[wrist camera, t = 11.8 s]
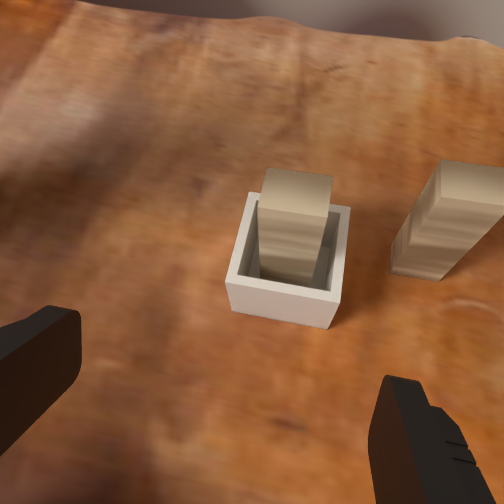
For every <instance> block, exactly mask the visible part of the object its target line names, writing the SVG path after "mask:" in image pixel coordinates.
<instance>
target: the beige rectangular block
mask: <svg viewBox="0 0 504 504" xmlns="http://www.w3.org/2000/svg"><path fill="white" fill-rule="evenodd" d="M503 215H504V168H502V167H495V166H487V165H479V164H472V163H464V162H456V161H449V160H440V161H439V163H438V165H437V166H436V168H435V170H434V172H433V173H432V175H431V177H430V178H429V180H428V182H427V184H426V185H425V187H424V189H423V190H422V192H421V194H420V196H419V197H418V199H417V201H416V202H415V204H414V206H413V208H412V209H411V211H410V213H409V214H408V216H407V218H406V219H405V221H404V223H403V225H402V226H401V228H400V230H399V231H398V233H397V235H396V237H395V238H394V240H393V242H392V243H391V259H390V274H395V275H401V276H407V277H412V278H418V279H424V280H430V281H436V282H439V281H440V280H441V279H442V278H443V276H444V275H445V274H446V273H447V272H448V271H449V270H450V269H451V268H452V267H453V266H454V265H455V264H456V263H457V262H458V261H459V260H460V259H461V258H462V257H463V256H464V255H465V254H466V253H467V252H468V251H469V250H470V249H471V248H472V247H473V246H474V245H475V244H476V243H477V242H478V241H479V240H480V239H481V238H482V237H483V236H484V235H485V234H486V233H487V232H488V231H489V230H490V229H491V228H492V227H493V226H494V225H495V224H496V223H497V222H498V221H499V220H500V218H501V217H502V216H503Z"/></svg>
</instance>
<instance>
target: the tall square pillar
mask: <svg viewBox="0 0 504 504" xmlns="http://www.w3.org/2000/svg"><path fill="white" fill-rule="evenodd" d="M332 181H333V176H329V175H321V174H314V173H307V172H299V171H292V170H285V169H277V168H270V167H267V169H266V174H265V178H264V182H263V186H262V190H261V194H260V198H259V202H258V206H257V211H258V236H259V262H260V279H263V280H269V281H274V282H280V283H285V284H291V285H296V286H302V287H307V288H310V285H311V281H312V277H313V273H314V269H315V265H316V261H317V257H318V253H319V249H320V245H321V241H322V237H323V233H324V229H325V226H326V222H327V218H328V210H329V203H330V196H331V188H332Z"/></svg>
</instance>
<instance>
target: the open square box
mask: <svg viewBox="0 0 504 504" xmlns="http://www.w3.org/2000/svg"><path fill="white" fill-rule="evenodd" d="M260 194H261V193H255V192H249V194H248V198H247V202H246V206H245V209H244V213H243V217H242V220H241V224H240V228H239V232H238V235H237V239H236V243H235V247H234V250H233V254H232V258H231V261H230V265H229V269H228V273H227V276H226V280H225V284H226V288H227V292H228V297H229V301H230V305H231V309H232V311H234V312H239V313H244V314H249V315H255V316H260V317H265V318H270V319H275V320H280V321H285V322H291V323H296V324H301V325H306V326H311V327H316V328H321V329H328V327H329V325H330V323H331V321H332V319H333V317H334V315H335V313H336V311H337V309H338V306H339V304H340V299H341V290H342V281H343V272H344V263H345V254H346V245H347V236H348V227H349V218H350V209H351V207H348V206H341V205H335V204H329V210H328V218H327V222H326V226H325V229H324V233H323V237H322V241H321V245H320V249H319V253H318V257H317V261H316V265H315V269H314V273H313V277H312V281H311V285H310V288H307V287H302V286H296V285H291V284H285V283H280V282H274V281H269V280H263V279H260V262H259V236H258V211H257V206H258V202H259V198H260Z"/></svg>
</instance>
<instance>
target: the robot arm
mask: <svg viewBox="0 0 504 504" xmlns="http://www.w3.org/2000/svg"><path fill="white" fill-rule="evenodd" d="M81 363H82V345H81V316H80V313H79V312H78V311H76V310H72V309H67V308H62V307H57V306H52V305H48V306H45V307H44V308H42V309H40V310H39V311H37V312H35V313H34V314H32V315H31V316H29V317H27V318H26V319H23V320H20V321H18V322H15V323H12V324H9V325H6V326H3V327H1V328H0V456H1V455H2V454H3V453H4V452H5V451H6V450H7V449H8V448H9V447H10V446H11V445H12V444H13V443H14V442H15V441H16V440H17V439H18V438H19V437H20V436H21V435H22V434H23V433H24V432H25V431H26V430H27V429H28V428H29V427H30V426H31V425H32V424H33V423H34V422H35V421H36V420H37V419H38V418H39V417H40V416H41V415H42V414H43V413H44V412H45V411H46V410H47V409H48V408H49V407H50V406H51V405H52V404H53V403H54V402H55V401H56V400H57V399H58V398H59V397H60V396H61V395H62V394H63V393H64V392H65V391H66V390H67V389H68V388H69V387H70V386H71V385H72V384H73V383H74V381H75V380H76V378H77V376H78V374H79V371H80V368H81ZM368 455H369V461H370V467H371V474H372V480H373V486H374V492H375V499H376V504H496V502H495V500H494V498H493V496H492V494H491V492H490V490H489V488H488V486H487V484H486V482H485V480H484V478H483V475H482V473H481V471H480V469H479V467H476V461H475V459H474V457H473V455H472V453H471V451H470V450H468V445H467V443H466V441H465V438H464V436H463V434H462V432H461V430H460V428H459V426H458V425H457V424H456V423H455V422H454V421H453V420H452V419H451V418H450V417H449V416H448V415H447V414H446V412H445V411H444V410H443V409H442V408H439V407H434V406H430V404H429V402H428V400H427V397H426V395H425V392H424V390H423V388H422V385H421V383H420V382H419V381H416V380H411V379H406V378H401V377H396V376H391V375H385V377H384V378H383V381H382V384H381V388H380V391H379V395H378V399H377V402H376V406H375V409H374V413H373V417H372V420H371V424H370V428H369V435H368Z"/></svg>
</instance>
